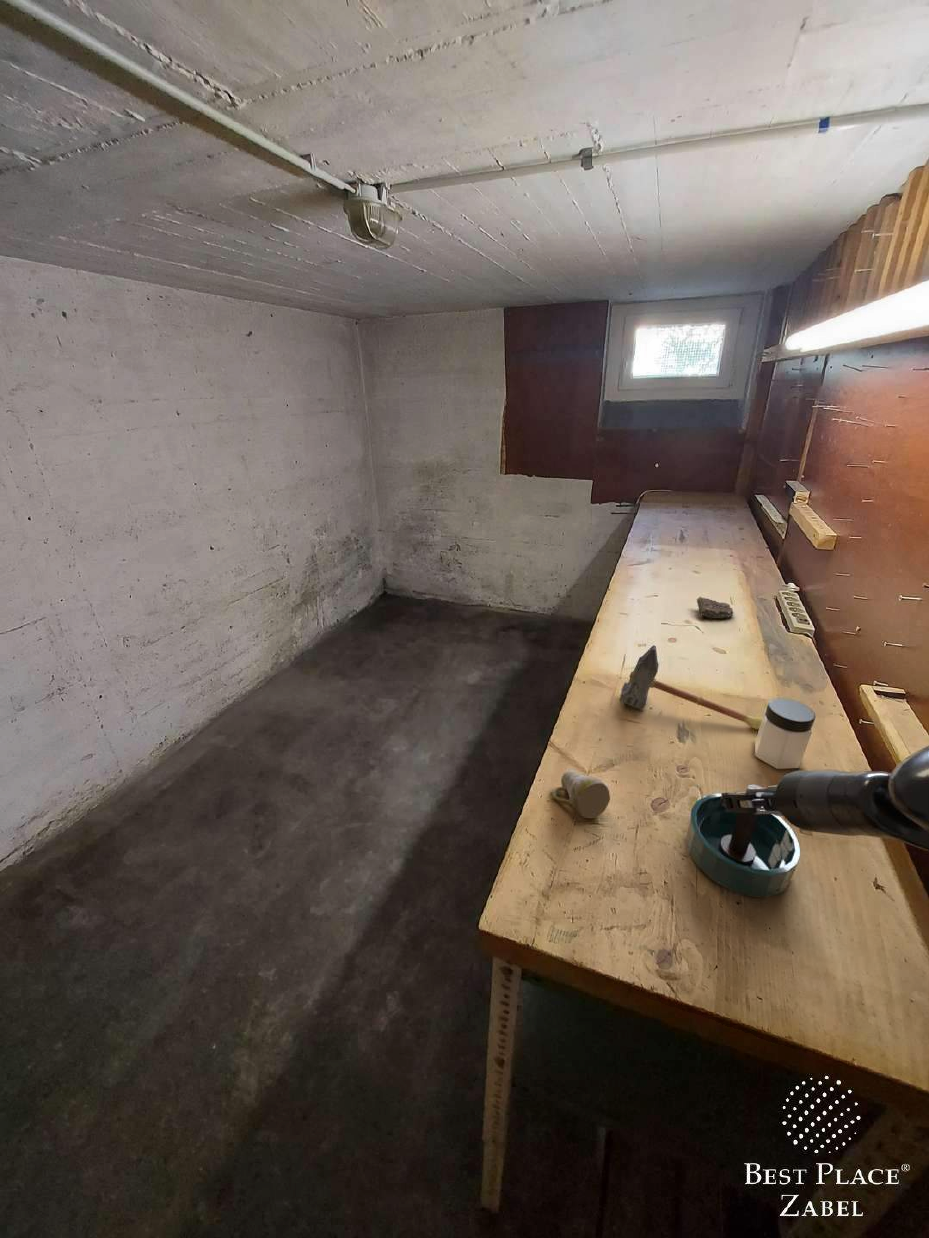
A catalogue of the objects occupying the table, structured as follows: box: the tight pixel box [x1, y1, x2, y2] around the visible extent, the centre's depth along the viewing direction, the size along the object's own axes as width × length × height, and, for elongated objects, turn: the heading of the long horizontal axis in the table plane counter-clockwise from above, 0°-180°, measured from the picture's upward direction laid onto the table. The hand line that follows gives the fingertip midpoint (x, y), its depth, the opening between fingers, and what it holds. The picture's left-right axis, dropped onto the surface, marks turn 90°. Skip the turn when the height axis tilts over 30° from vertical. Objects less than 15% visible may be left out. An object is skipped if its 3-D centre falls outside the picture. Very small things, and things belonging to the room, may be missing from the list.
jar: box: [754, 697, 816, 770], centre depth 99 cm, size 9×8×12 cm
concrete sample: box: [696, 596, 734, 619], centre depth 161 cm, size 12×10×5 cm
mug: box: [552, 769, 611, 819], centre depth 90 cm, size 8×10×10 cm
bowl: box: [684, 792, 802, 898], centre depth 79 cm, size 16×16×6 cm
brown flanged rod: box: [719, 784, 764, 866], centre depth 77 cm, size 5×5×14 cm
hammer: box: [619, 644, 763, 731], centre depth 112 cm, size 6×16×30 cm
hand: (750, 797), depth 76 cm, fingers open, 8 cm apart
